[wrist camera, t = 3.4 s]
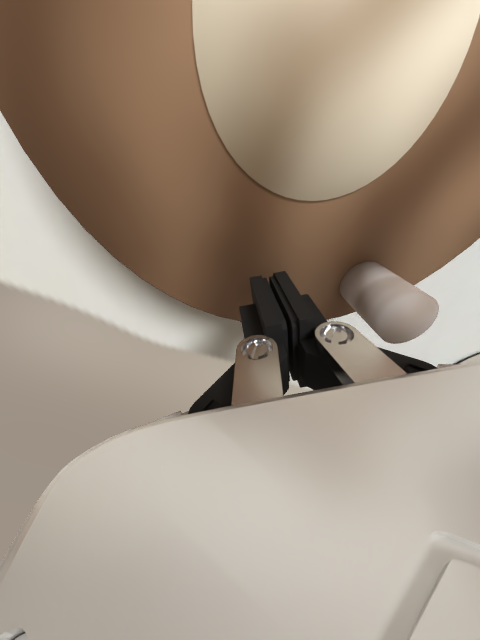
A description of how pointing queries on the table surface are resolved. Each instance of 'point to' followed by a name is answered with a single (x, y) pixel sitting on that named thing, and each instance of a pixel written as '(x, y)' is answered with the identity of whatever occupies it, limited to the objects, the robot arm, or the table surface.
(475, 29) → the turntable
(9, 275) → the table surface
